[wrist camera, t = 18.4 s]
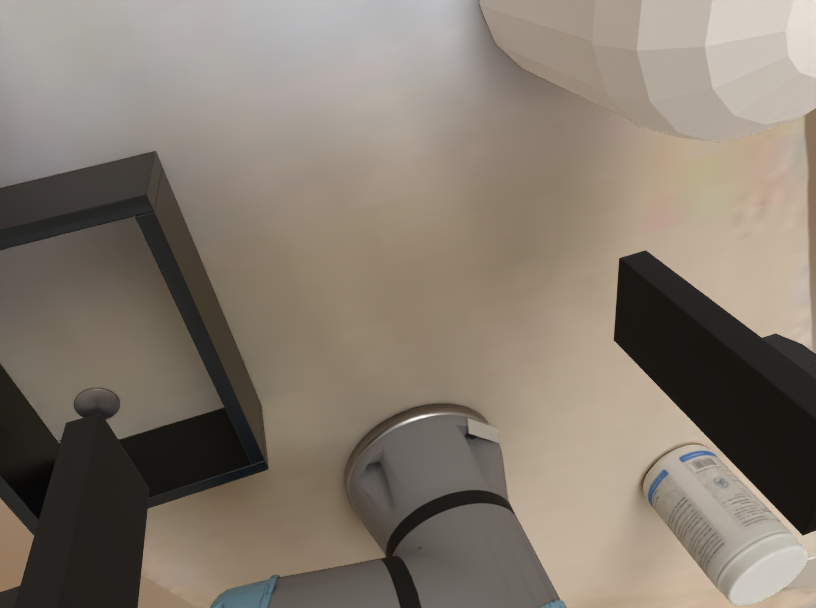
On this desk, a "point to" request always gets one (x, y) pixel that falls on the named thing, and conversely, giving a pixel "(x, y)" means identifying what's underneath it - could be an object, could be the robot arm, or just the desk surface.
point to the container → (671, 59)
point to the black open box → (150, 451)
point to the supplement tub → (723, 525)
